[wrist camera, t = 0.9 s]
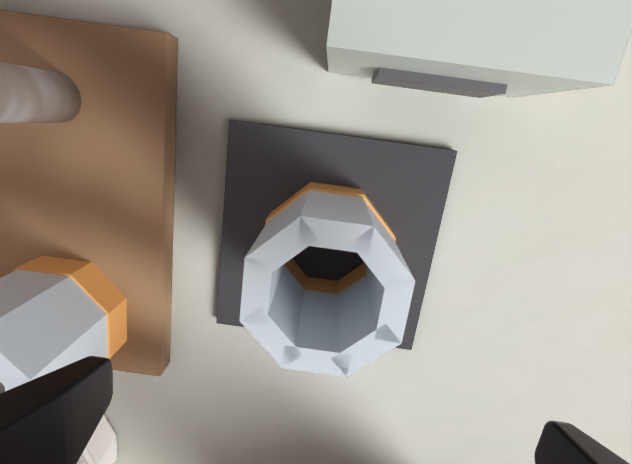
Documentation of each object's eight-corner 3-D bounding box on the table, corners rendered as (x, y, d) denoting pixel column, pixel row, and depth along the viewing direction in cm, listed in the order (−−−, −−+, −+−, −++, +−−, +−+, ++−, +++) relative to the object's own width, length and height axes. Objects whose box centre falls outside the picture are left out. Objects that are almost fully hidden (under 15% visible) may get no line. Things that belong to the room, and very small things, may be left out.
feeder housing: (512, 104, 16) (610, 96, 11) (327, 79, 16) (324, 57, 11) (549, -38, 15) (686, -137, 9) (346, -65, 15) (354, -182, 9)
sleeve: (375, 305, 19) (394, 386, 13) (263, 289, 19) (233, 364, 13) (397, 193, 17) (430, 230, 12) (274, 177, 17) (245, 205, 12)
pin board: (169, 362, 21) (111, 448, 15) (5, 339, 21) (-112, 417, 15) (178, 38, 16) (99, -3, 11) (-33, 10, 16) (-218, -46, 11)
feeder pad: (409, 345, 20) (411, 349, 19) (218, 319, 20) (216, 323, 20) (454, 150, 17) (457, 150, 17) (231, 120, 17) (229, 120, 17)
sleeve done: (127, 368, 20) (41, 472, 14) (18, 353, 20) (-113, 450, 14) (125, 266, 18) (28, 336, 12) (8, 250, 18) (-145, 312, 12)
